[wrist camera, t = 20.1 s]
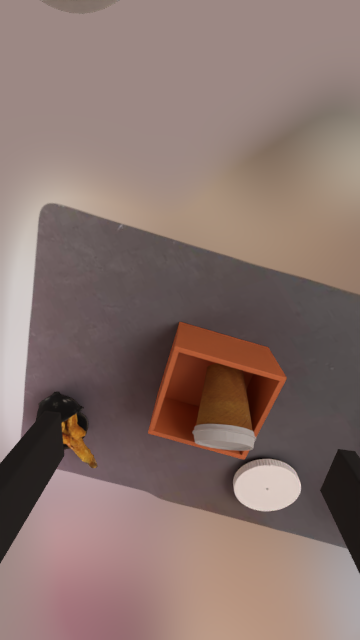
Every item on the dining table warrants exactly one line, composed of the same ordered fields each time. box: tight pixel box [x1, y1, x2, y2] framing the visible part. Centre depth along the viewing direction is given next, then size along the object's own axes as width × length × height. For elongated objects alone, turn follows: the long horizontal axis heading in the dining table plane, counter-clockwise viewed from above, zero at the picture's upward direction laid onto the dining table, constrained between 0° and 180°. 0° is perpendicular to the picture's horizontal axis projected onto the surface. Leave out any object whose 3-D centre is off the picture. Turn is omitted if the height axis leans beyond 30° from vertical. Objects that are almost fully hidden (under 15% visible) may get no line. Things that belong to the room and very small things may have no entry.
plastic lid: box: [233, 459, 301, 511], centre depth 54 cm, size 14×14×2 cm
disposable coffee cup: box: [192, 363, 256, 451], centre depth 40 cm, size 10×10×12 cm
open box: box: [148, 322, 287, 460], centre depth 42 cm, size 17×17×10 cm
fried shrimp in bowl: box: [36, 392, 97, 468], centre depth 48 cm, size 9×11×18 cm
